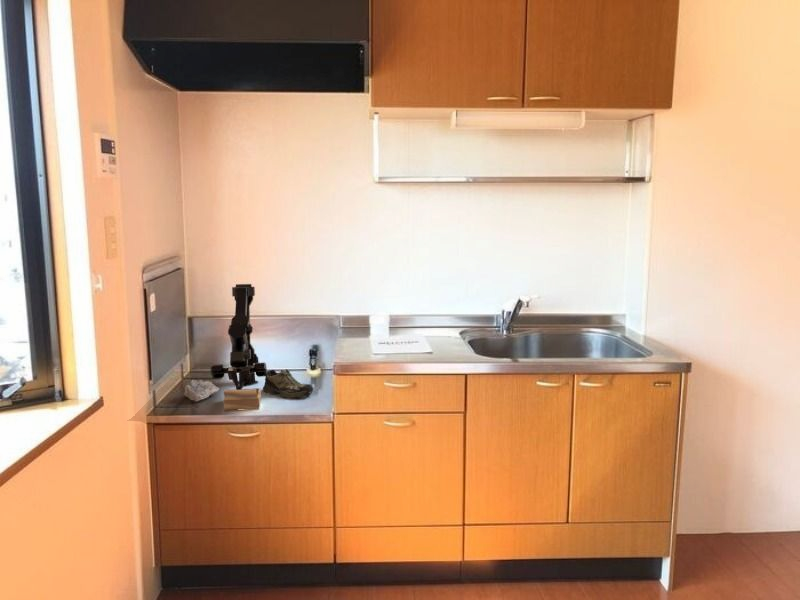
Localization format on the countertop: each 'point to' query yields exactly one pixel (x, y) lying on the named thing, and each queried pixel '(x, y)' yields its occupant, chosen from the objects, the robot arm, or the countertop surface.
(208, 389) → the rock
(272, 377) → the hiking shoe
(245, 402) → the carton
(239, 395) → the flap
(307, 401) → the countertop surface
